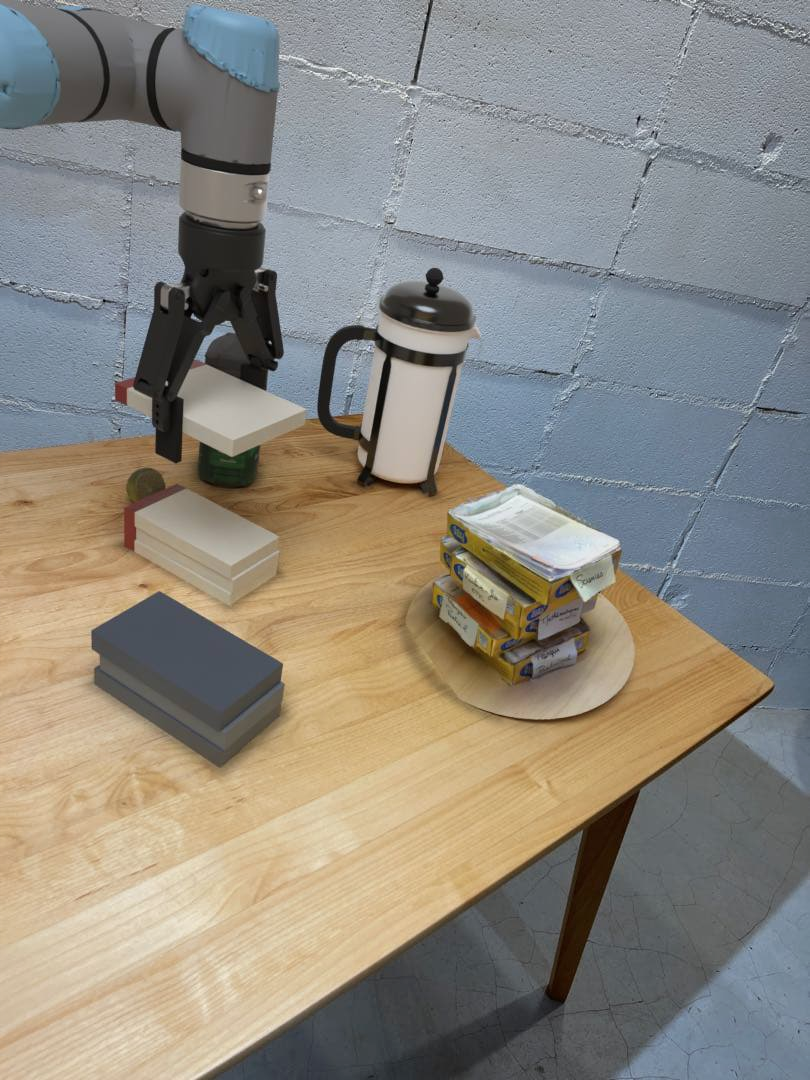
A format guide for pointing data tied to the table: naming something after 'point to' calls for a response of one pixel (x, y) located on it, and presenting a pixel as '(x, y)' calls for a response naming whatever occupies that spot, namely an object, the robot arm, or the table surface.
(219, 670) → the grey stack
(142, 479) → the lime
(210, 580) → the white stack
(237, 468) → the coffee jar
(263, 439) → the white book
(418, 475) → the coffee press
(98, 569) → the table surface
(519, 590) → the paper stack
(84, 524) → the table surface
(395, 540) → the table surface
